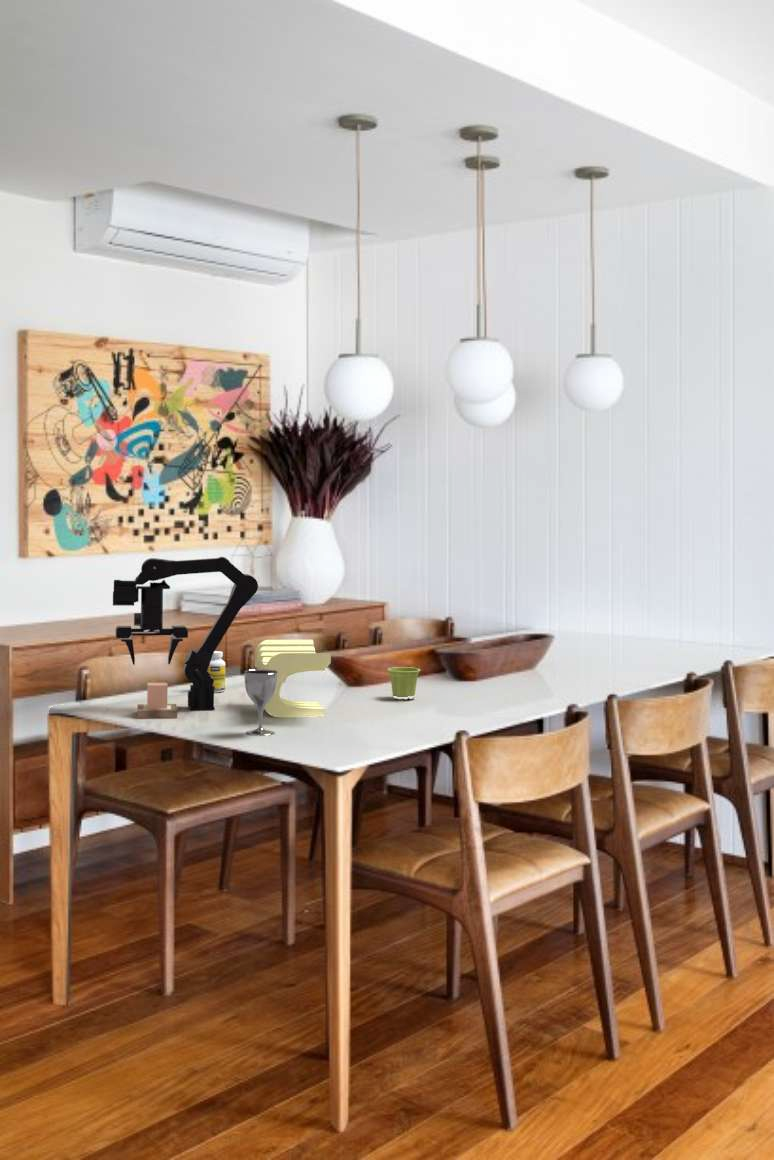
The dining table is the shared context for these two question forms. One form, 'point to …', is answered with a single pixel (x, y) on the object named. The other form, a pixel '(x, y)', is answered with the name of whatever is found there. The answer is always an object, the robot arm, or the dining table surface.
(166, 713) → the walnut plinth
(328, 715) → the dining table surface
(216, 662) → the pill bottle
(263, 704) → the wine glass
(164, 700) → the terracotta block
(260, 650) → the slatted curved stool
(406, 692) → the plant pot
